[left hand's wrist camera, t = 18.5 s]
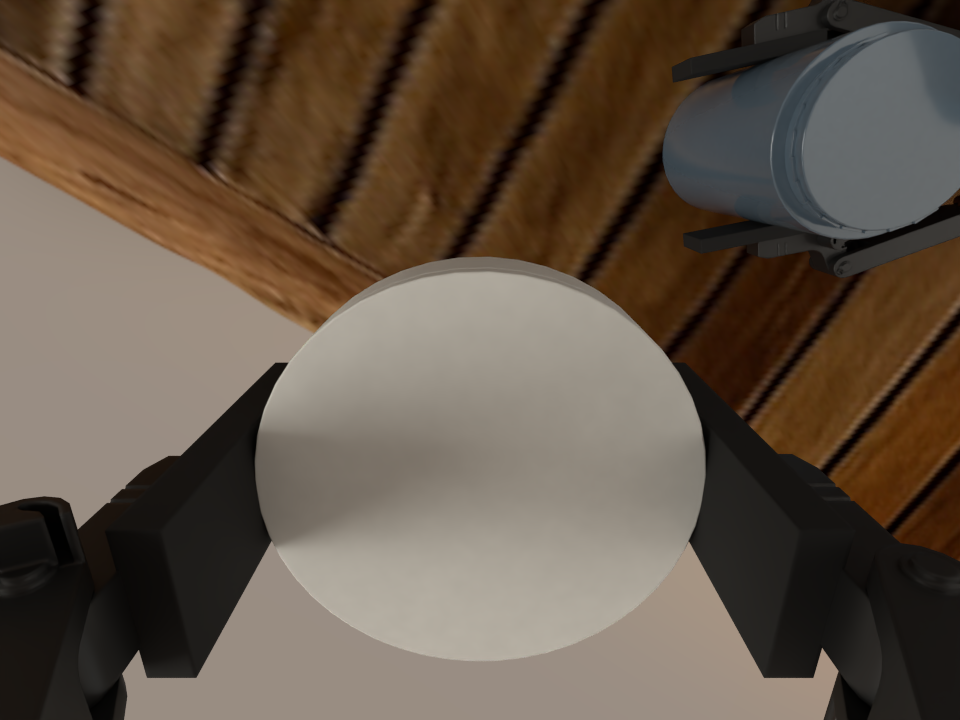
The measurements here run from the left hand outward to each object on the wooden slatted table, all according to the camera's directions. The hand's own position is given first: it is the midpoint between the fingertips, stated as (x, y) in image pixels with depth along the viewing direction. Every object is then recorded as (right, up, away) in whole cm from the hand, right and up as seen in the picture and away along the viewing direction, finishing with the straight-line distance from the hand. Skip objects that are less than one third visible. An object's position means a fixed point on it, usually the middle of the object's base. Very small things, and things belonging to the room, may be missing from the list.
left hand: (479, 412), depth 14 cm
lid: (0, -1, -3) cm, 3 cm away
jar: (+16, +15, +21) cm, 30 cm away
